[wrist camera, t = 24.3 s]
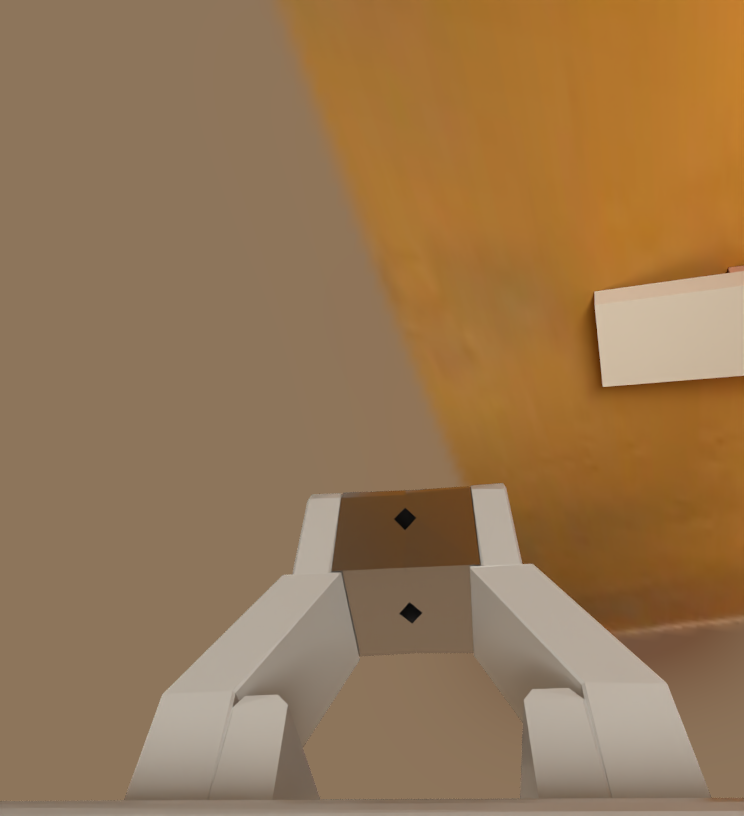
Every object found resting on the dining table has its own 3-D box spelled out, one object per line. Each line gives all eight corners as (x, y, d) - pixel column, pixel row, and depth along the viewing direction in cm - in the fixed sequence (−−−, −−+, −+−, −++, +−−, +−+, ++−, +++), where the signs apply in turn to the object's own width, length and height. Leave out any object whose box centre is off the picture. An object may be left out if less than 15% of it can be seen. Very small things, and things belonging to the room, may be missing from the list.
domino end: (594, 291, 32) (823, 259, 28) (602, 371, 34) (813, 352, 30) (594, 305, 30) (834, 273, 26) (602, 386, 33) (822, 369, 29)
